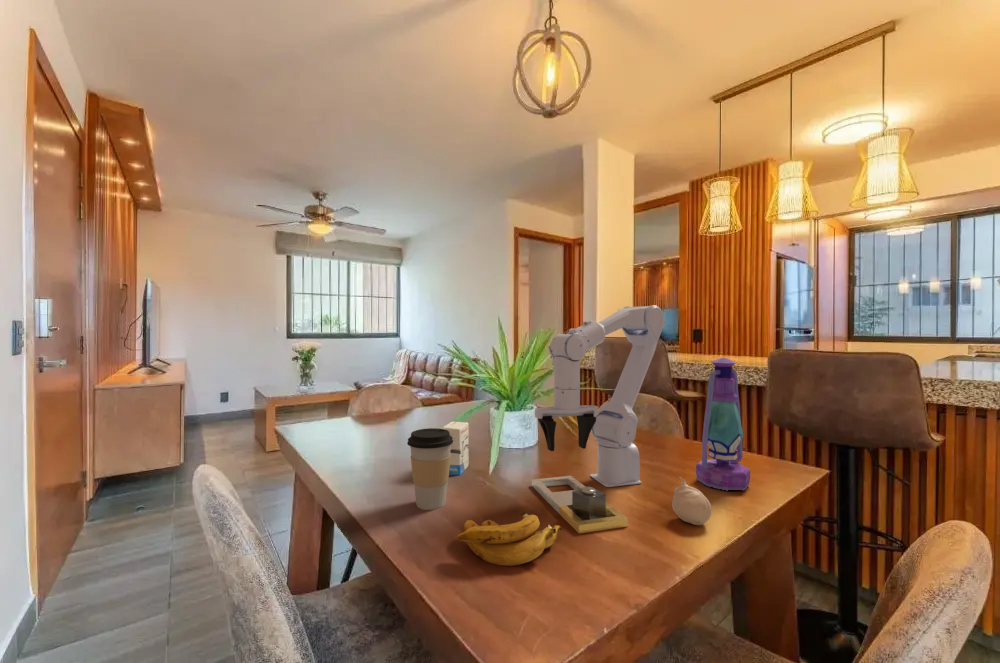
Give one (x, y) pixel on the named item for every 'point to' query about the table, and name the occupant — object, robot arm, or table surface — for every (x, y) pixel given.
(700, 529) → the table surface
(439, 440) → the coffee cup
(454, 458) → the ink box
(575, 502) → the grey knobbed block
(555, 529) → the banana
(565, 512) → the plate with square hole
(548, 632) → the table surface
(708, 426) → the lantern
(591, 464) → the table surface
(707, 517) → the garlic bulb
